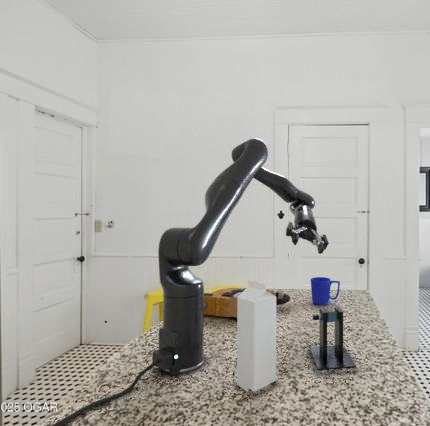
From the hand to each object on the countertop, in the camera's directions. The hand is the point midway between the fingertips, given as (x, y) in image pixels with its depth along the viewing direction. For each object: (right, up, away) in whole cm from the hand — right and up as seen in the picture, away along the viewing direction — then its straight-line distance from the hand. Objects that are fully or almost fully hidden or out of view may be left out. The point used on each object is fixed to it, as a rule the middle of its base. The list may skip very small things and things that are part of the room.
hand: (308, 247), depth 95 cm
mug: (+7, -27, +33) cm, 43 cm away
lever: (+5, -18, -14) cm, 23 cm away
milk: (-12, -26, -29) cm, 41 cm away
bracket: (+5, -26, -18) cm, 32 cm away
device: (-23, -27, +22) cm, 42 cm away
